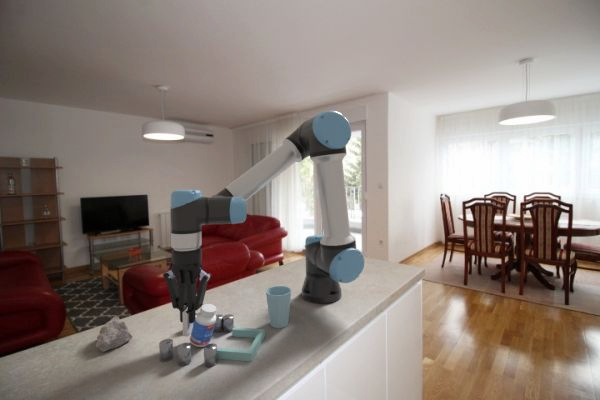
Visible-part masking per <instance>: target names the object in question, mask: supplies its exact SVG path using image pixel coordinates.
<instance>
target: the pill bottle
mask: <svg viewBox="0 0 600 400" xmlns="http://www.w3.org/2000/svg"><path fill="white" fill-rule="evenodd" d="M216 312H217V307H216V306H215V305H214V304H212V303H211V304H210V303H205V304H204V303H203V305H202V306H201V307H200V309H199V312H197V315H196V318H195V321H194V325H193V329H192V332H191V334H190V335H189V336H190V337H189V343H190V344H192V345H193V346H195V347H197V348H198V347H199V348H202V347H203V348H204V347H205V346H206V345H208V344H211V339H212V336H213V333H214V332H213V329H214V326H215V322H216V315H217V314H216Z"/></svg>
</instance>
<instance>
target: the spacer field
mask: <svg viewBox="0 0 600 400" xmlns="http://www.w3.org/2000/svg"><path fill="white" fill-rule="evenodd" d="M197 314H198V312H196V315H197ZM215 315H216V322H215V326H214V329H213V333H214V334H219V333H222V332H224V333H227V334H229V333H232V329H233V327H235V324H234V323H235V322H234V320H235V319H234V318H235V317H234V314H230V313H229V314H224V315H223V314H215ZM193 325H194V322H193ZM173 341H174V340H173V339H172V338H166V339H162V340H161V341H160V342H159V343H158V345H159V361H160V362H168V361H170V360H172V359H173V358H174V342H173ZM191 344H192V343H191V342H183V343H180V344H179V345H178V346H177V351H176V352H177V364H178V366H179V367H185V366H189V364H191V362H192V345H191ZM217 348H218V345H217V344H216V343H209V344H208V345H206V346H203V363H204V367H206V368H212V367H215V366H216V365H217V364H218V358H217Z"/></svg>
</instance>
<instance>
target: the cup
mask: <svg viewBox="0 0 600 400" xmlns="http://www.w3.org/2000/svg"><path fill="white" fill-rule="evenodd" d="M265 295H266V303H267V304H266V305H267V310H268V318H269V323H270V327H272V328H275V329H283V328H285V327H287V326H288V325H289V318H290V309H291V308H290V307H291V299H292V298H291V297H292V289H291V288H290V287H289V286H285V285H275V286H271V287H269V288H267V289H266V290H265Z"/></svg>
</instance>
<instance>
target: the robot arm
mask: <svg viewBox="0 0 600 400" xmlns="http://www.w3.org/2000/svg"><path fill="white" fill-rule="evenodd" d="M351 138H352V127H351V124H350V122H349V120H348V119H347V118H346V116H344V115H343V114H342V113H341V112H339V111H337V110H326V111H323V112H320V113H318V114H317V115H315V116H312V117H311V118H309V119H307V120H305V121H304V122H302V123H301V124H300V125H299V126H298V127H297V128H296V129H295V130H294V131H292V133H290V134H289V135H288V136H287V137H286V138H284V139H283V140H282V144H281V145H279V147H277V148H276V149H275V150H273V151H272V152H271V153H269V154H268V155H267V156H265V157H264V158H262V159H261V160H260V161H258V162H257V163H255V165H253V166H252V167H251V168H249V169H248V170H247V171H245V172H244V173H242V174H241V175H240V176H239V177H237V178H236V179H235V180H234V181H232V182H231V183H230V184H228V185H227V186H226V187H224V188H223V189H222V190H220V191H219V192H217V193H216V194H214V195H211V196H209V197H208V196H206V197H205V196H203V195H202V191H201V190H199V189H176V190H173V191H172V192H171V193H170V211H169V212H170V230H171V231H170V247H171V248H172V250H171V253H170V254H171V263H172V266H171V268H170V270H169V271H167V272H164V273H163V275H162V277H163V278H164V281H166V284H167V288H168V289H167V290H168V293H169V297H170V301H171V306H172V308H173V309H177V310H178V312H179V321H180V323H182V336H183V337H186V338H188V337H189V336H191V332H192V329H193V322H194V321H195V318H196V313H197V312H196V311H198V310H200V309H201V306H202V305H204V299H205V295H206V292H207V286H208V283H209V280H210V279H211V278H212V273H210V272H209V273H207V272H206V271H204V268H203V265H202V261H203V249H202V247H201V246H202V245H203V244H202V241H203V239H202V238H203V237H202V234H203V233H202V226H203V225H226V224H227V225H228V224H231V225H236V224H242V223H245V221H246V220H247V216H248V215H247V214H248V209H247V206H248V205H247V201H248V200H249V199H251V198H252V196H254V195H256V194H257V193H258V192H259V191H260V190H262V189H263V188H264V187H266V186H267V185H268V184H270V183H271V182H272V181H273V180H275V179H276V178H277V177H278V176H280V175H281V174H282V173H283V172H285V171H286V170H287V169H289V168H290V167H291V166H292V165H294V164H295V163H301V162H302V161H304V160H305V159H306V158H308V157H309V158H310V160H311V161H312V162H313V163H314V164H315V170H316V171H315V172H316V179H317V187H318V196H319V205H320V215H321V220H322V221H321V222H322V231H323V234H317V235H316V234H313V235H310V236H309V235H308V236H306V238H305V245H304V249H305V277H304V280H303V282H302V287H301V297H302V298H303V299H304V300H305V301H308V302H311V303H315V304H330V303H334V302H337V301H339V300H340V299H341V298H342V295H343V293H342V287H341V284H350V283H353V282H355V280H357V279H358V278H359V277H360V274H362V272H363V271H364V268H365V258H364V255H363V253H362V252H361V250H360V249H358V248H357V242H356V237H355V236H354V235H352V234H351V231H350V230H351V229H350V220H349V211H348V210H349V209H348V203H347V202H348V201H347V200H348V199H347V192H346V183H345V182H346V181H345V174H344V163H343V161H344V158H345V157H346V156H347V145H348V143H349V141H350V140H351ZM198 278H199V283H198ZM340 283H341V284H340ZM197 284H198V286H197ZM197 287H198V288H197Z"/></svg>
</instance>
